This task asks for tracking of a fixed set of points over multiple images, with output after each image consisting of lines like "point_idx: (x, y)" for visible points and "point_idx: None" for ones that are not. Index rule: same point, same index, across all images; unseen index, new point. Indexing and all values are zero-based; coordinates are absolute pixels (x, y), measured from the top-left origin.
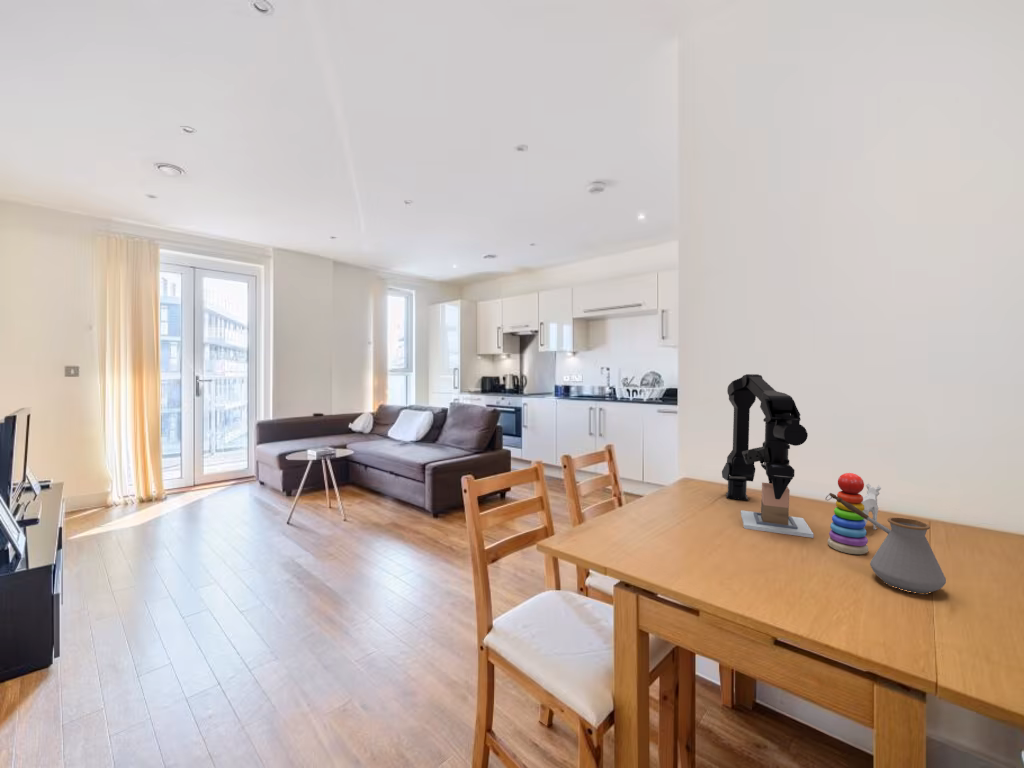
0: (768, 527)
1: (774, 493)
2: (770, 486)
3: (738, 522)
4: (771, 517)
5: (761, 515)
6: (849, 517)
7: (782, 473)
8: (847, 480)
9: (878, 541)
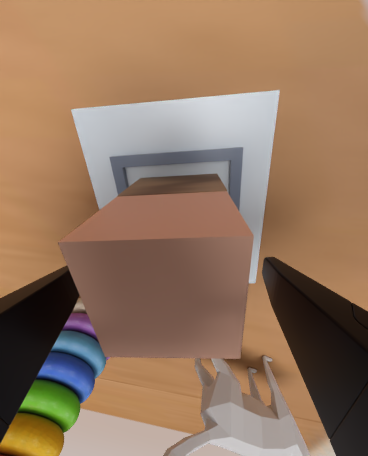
0: (100, 191)
1: (40, 278)
2: (126, 282)
3: (140, 86)
4: None
5: (196, 176)
6: None
7: None
8: None
9: (176, 358)
